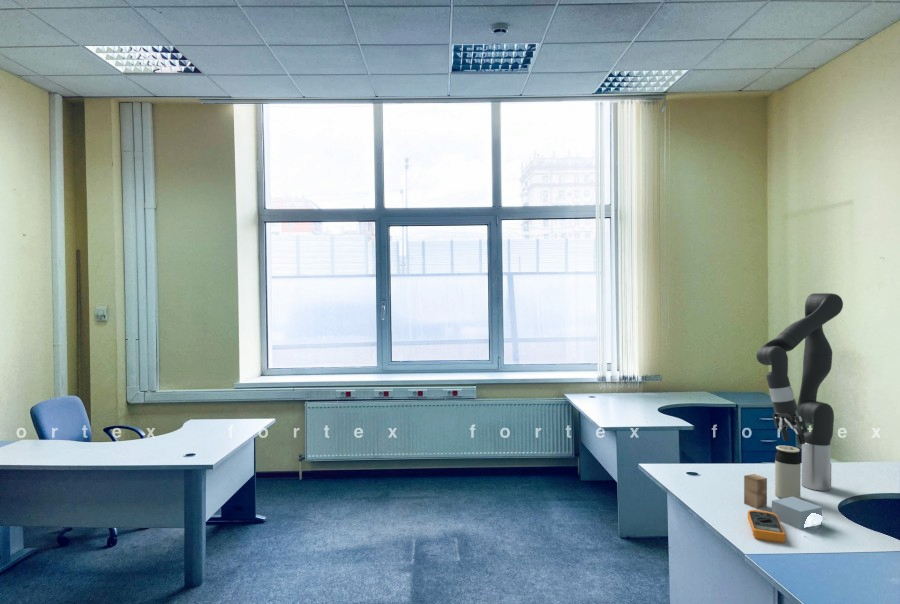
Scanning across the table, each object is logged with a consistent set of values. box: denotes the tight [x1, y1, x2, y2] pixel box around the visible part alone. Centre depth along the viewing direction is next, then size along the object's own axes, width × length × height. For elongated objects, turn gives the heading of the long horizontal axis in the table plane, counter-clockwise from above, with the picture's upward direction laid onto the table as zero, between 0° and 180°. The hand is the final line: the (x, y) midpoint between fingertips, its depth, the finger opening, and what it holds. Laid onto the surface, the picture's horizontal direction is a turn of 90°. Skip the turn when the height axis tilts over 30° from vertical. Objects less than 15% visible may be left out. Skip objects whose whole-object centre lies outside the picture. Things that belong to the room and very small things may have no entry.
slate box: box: [771, 497, 823, 530], centre depth 178 cm, size 10×10×6 cm
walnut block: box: [743, 473, 768, 510], centre depth 192 cm, size 5×5×10 cm
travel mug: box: [774, 445, 802, 499], centre depth 200 cm, size 8×8×18 cm
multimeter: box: [747, 509, 786, 544], centre depth 172 cm, size 9×18×3 cm, turn 157°
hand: (794, 442), depth 201 cm, fingers open, 8 cm apart
